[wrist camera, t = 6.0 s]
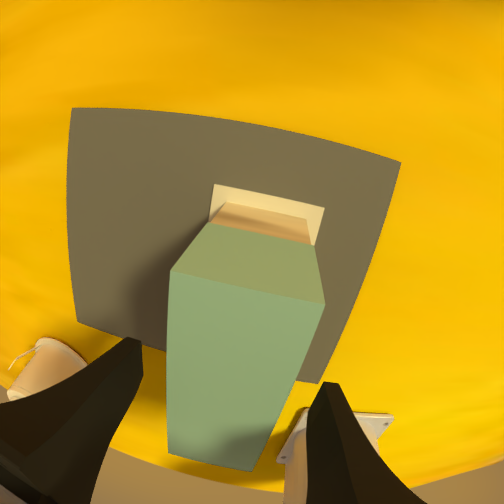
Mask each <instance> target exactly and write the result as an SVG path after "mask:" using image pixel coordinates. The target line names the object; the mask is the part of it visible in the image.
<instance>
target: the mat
mask: <svg viewBox="0 0 504 504" xmlns="http://www.w3.org/2000/svg"><path fill="white" fill-rule="evenodd" d="M400 165H401V162H398V161H396V160H393V159H390V158H386V157H383V156H380V155H377V154H374V153H371V152H367V151H364V150H361V149H357V148H354V147H350V146H347V145H343V144H340V143H336V142H332V141H328V140H325V139H321V138H317V137H313V136H308V135H304V134H300V133H295V132H291V131H286V130H282V129H277V128H272V127H267V126H262V125H257V124H251V123H245V122H240V121H234V120H227V119H221V118H214V117H207V116H199V115H191V114H182V113H173V112H162V111H150V110H135V109H115V108H72V112H71V121H70V131H69V143H68V159H67V232H68V248H69V261H70V271H71V280H72V288H73V296H74V303H75V309H76V316H77V322H79V323H82V324H85V325H87V326H90V327H93V328H95V329H98V330H101V331H104V332H107V333H109V334H112V335H115V336H118V337H121V338H126V337H131V338H134V339H137V340H140V341H141V344H143V345H146V346H149V347H152V348H156V349H159V350H162V351H166V352H167V320H168V298H169V281H170V270H171V269H172V267H173V266H174V265H175V264H176V262H177V261H178V260H179V258H180V257H181V256H182V254H183V253H184V252H185V250H186V249H187V248H188V247H189V245H190V244H191V243H192V241H193V240H194V239H195V238H196V236H197V235H198V234H199V232H200V231H201V230H202V229H203V227H204V226H205V225H206V224H207V222H209V223H210V222H211V221H212V220H213V218H214V217H215V216H216V215H217V213H218V212H219V211H220V209H221V208H222V207H223V206H224V204H225V203H226V202H230V203H235V204H240V205H245V206H250V207H254V208H259V209H264V210H268V211H273V212H277V213H282V214H286V215H291V216H295V217H300V218H304V219H306V221H307V226H308V231H309V236H310V241H311V245H314V248H315V253H316V258H317V263H318V268H319V273H320V278H321V283H322V289H323V294H324V300H325V307H324V310H323V313H322V315H321V318H320V321H319V323H318V326H317V328H316V331H315V334H314V336H313V339H312V341H311V344H310V346H309V349H308V351H307V354H306V356H305V359H304V361H303V363H302V366H301V368H300V371H299V373H298V375H297V378H296V380H295V381H302V382H308V383H315V384H318V383H319V381H320V379H321V377H322V375H323V373H324V371H325V369H326V367H327V365H328V363H329V360H330V358H331V356H332V354H333V352H334V350H335V348H336V345H337V343H338V341H339V339H340V336H341V334H342V332H343V330H344V327H345V325H346V323H347V320H348V318H349V316H350V313H351V311H352V308H353V306H354V304H355V301H356V299H357V296H358V294H359V291H360V288H361V286H362V283H363V281H364V278H365V275H366V273H367V270H368V267H369V265H370V262H371V259H372V256H373V253H374V251H375V248H376V245H377V242H378V239H379V236H380V233H381V230H382V227H383V224H384V221H385V218H386V214H387V211H388V208H389V205H390V201H391V198H392V194H393V191H394V187H395V184H396V180H397V177H398V173H399V169H400Z"/></svg>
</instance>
